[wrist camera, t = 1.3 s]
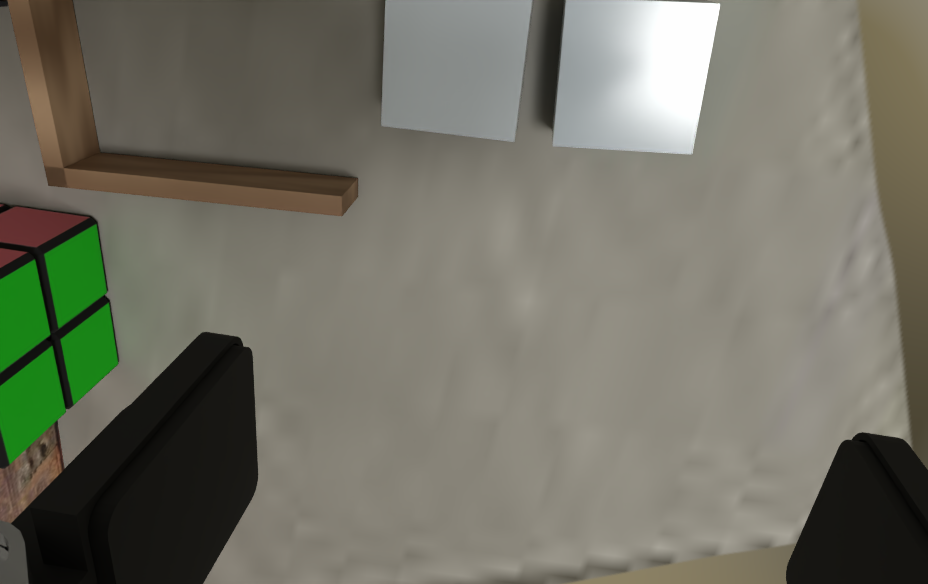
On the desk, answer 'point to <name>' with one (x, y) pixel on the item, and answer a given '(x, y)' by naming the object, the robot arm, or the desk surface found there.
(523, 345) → the desk surface
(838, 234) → the desk surface
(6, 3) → the ammunition clip
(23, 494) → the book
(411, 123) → the tile
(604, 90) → the tile trail
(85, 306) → the puzzle cube
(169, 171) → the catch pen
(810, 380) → the desk surface
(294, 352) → the desk surface
